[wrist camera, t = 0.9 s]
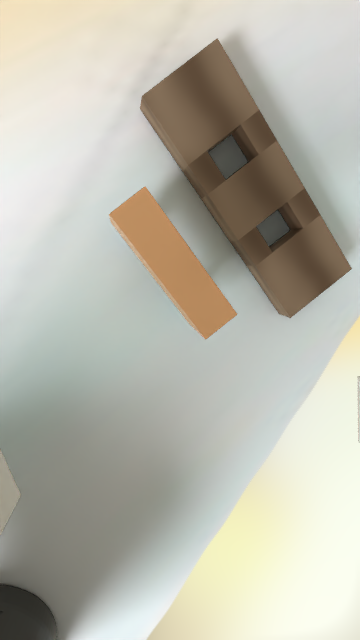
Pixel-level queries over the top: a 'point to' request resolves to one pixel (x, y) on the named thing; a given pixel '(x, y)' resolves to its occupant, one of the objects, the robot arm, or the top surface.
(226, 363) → the top surface
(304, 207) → the rail
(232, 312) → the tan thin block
